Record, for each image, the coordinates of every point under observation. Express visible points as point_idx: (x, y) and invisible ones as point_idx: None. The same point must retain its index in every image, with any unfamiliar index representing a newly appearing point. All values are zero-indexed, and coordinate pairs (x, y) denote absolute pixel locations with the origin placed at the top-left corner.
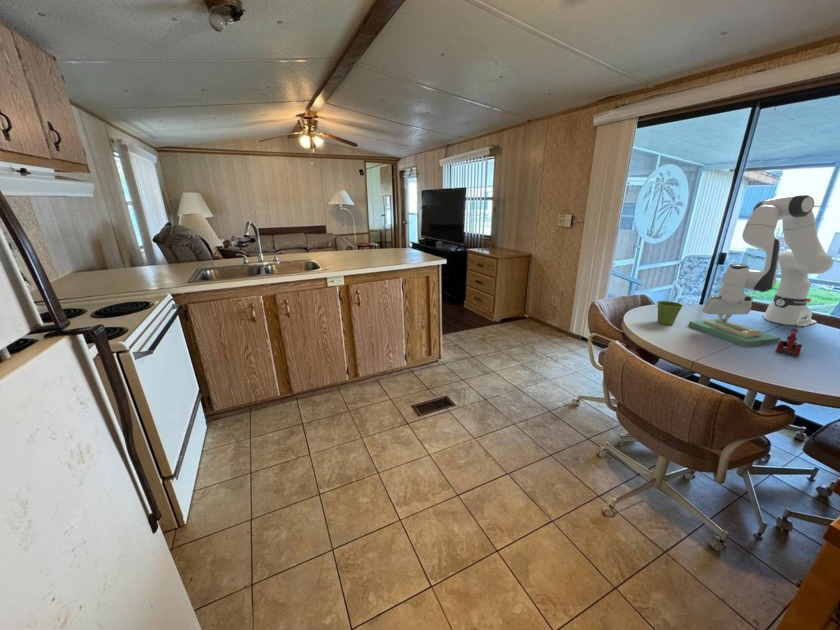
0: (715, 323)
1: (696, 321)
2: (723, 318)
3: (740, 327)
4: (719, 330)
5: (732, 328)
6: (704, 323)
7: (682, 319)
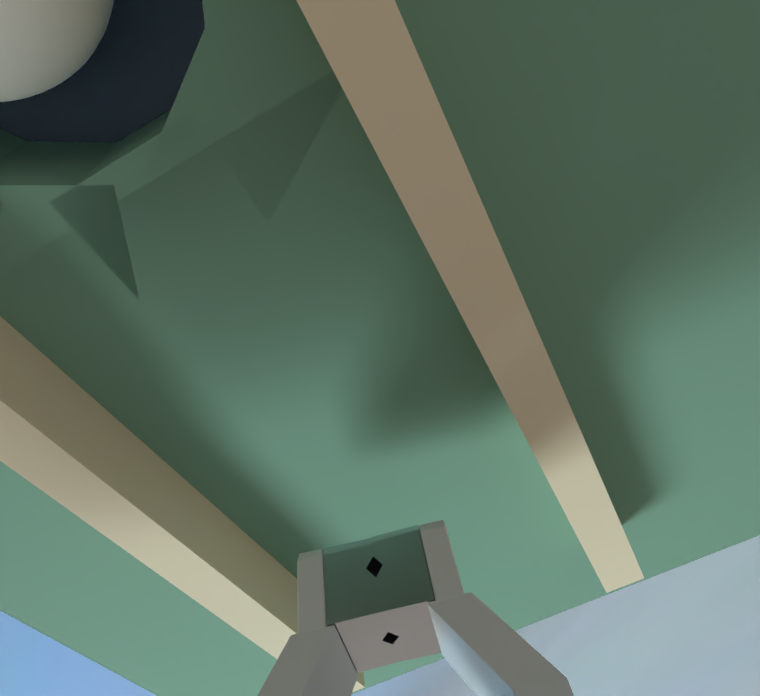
0: (567, 446)
1: (697, 542)
2: (382, 649)
3: (17, 384)
4: (651, 76)
5: (205, 363)
6: (633, 491)
7: (638, 635)
